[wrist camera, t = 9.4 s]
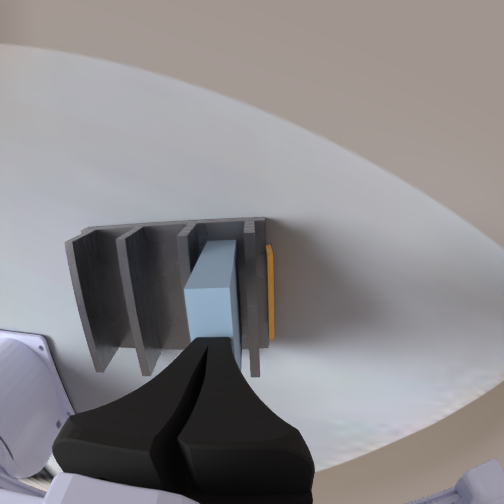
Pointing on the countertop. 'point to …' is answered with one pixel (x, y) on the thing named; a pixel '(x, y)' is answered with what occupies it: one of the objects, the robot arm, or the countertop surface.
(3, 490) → the robot arm
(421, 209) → the countertop surface
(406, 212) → the countertop surface
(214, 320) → the panel
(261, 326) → the rack
